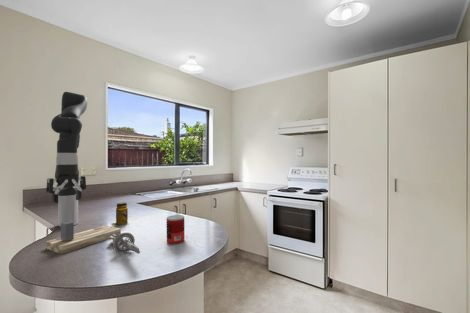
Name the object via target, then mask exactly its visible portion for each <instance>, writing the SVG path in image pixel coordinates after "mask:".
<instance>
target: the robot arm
mask: <svg viewBox="0 0 470 313" xmlns="http://www.w3.org/2000/svg"><path fill="white" fill-rule="evenodd" d="M87 106H88V98H87V97H86V96H85V95H83V94H79V93H75V92H71V91H64V92H63V93H62V95H61V112H60V113H59V114H57V115H56V116H54V117H53V118H52V120H51V123H50V126H51V130H52V131H54V132H55V133H57V134H59V137H58V140H57V141H56V158H55V161H56V162H55V164H56V166H55V171H54V172H55V173H54V178H52V177H51V178H50V177H49V178H47V179H46V187H45V191H46V194H50V195H51V200H52V202H53V204H57V205H58V206H57V207H58V208H57V209H58V210H57V211H58V213H57V216H58V218H57V219H58V220H57V221H58V222H57V224H58V225H57V226H58V227H60V228H61V223H64V222H73V223H74V226H76V225H78V224H79V201H80V200H81V199H82V191H84V190H86V189H87V181H86V180H87V179H86V176H85V175H81V176H80V170H79V157H78V149H79V147H80V142H81V141H80V140H81V131H82V128H83V123H82V121H81V119H80V118H81V116H82V115H83V114H84V113H85V112H86V110H87ZM55 183H56V185H55V186H54V184H55Z"/></svg>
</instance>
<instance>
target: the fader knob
mask: <svg viewBox="0 0 470 313" xmlns="http://www.w3.org/2000/svg"><path fill="white" fill-rule="evenodd" d="M74 226H75V225H74V223H73V222H64V223H61V227H60V237H61V240H63V241H68V240H72V239H74V234H75V233H74V232H75V231H74Z"/></svg>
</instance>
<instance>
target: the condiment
mask: <svg viewBox="0 0 470 313" xmlns="http://www.w3.org/2000/svg"><path fill="white" fill-rule="evenodd" d="M127 203H128V202H118V203H116V209H115V222H112V223H110V224H111V227H112V228H113V227H121V226H128V225H130V223H129V222H128V221H129V220H128V219H129V218H128V217H129V216H128V215H129V214H128V211H129V210H128V209H129V208H128V204H127Z"/></svg>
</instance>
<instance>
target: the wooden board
mask: <svg viewBox="0 0 470 313" xmlns="http://www.w3.org/2000/svg"><path fill="white" fill-rule="evenodd" d="M117 232H119V234H121V233H122V229H121V228H120V227H117V226H114V227H112V225H103V226H98V227H94V228H91V229H87V230H84V231H80V232H76V233H74V239H72V240H68V241H63V240H61V236H60V237H57V238H55V239H50V240H46V241H45V249H46V248H47V249H46V250H48V249H49V250H48V251H51V252H54V253H57V254H60V255H64V254H66V253H69V252H72V251H76V250H78V249H81V248H84V247H87V246H91V245H93V244H96V243H100V242H103V241H106V240H108V239H112V238H111V237H110V236H112V235H113V234H115V233H117Z"/></svg>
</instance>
